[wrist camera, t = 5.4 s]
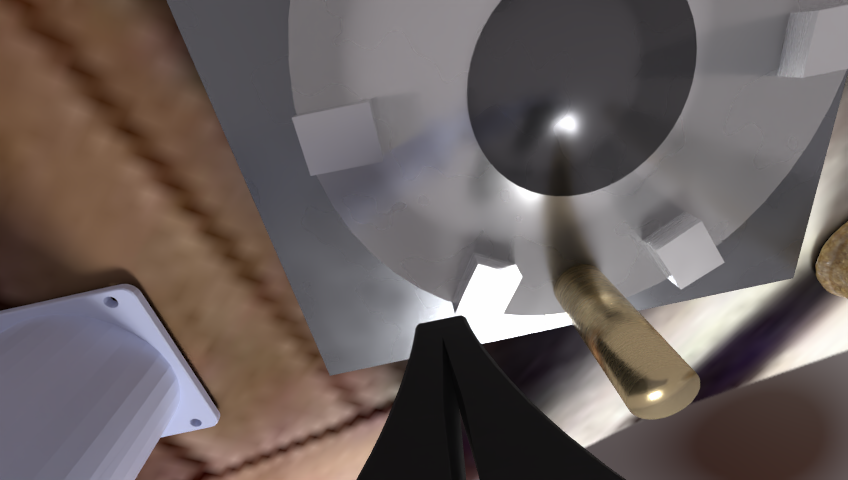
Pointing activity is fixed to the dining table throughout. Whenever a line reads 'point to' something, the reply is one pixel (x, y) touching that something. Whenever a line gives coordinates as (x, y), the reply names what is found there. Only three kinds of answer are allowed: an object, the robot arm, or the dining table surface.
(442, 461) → the robot arm
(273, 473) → the dining table surface
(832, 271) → the sprinkles bottle
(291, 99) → the base plate
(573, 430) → the dining table surface
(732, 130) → the tabbed hub disc
